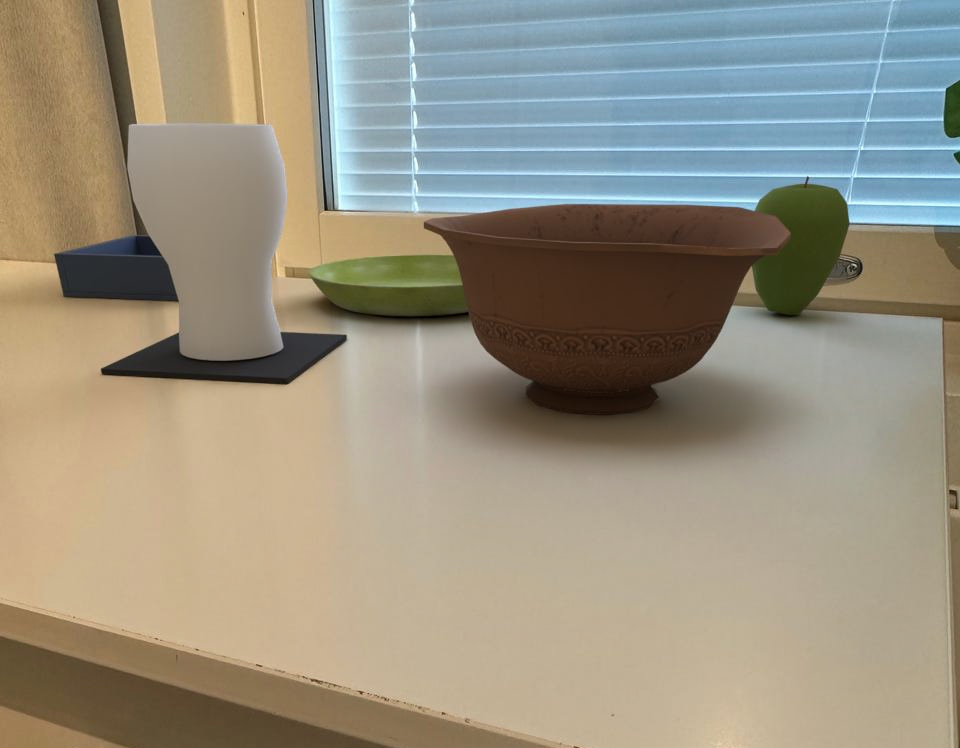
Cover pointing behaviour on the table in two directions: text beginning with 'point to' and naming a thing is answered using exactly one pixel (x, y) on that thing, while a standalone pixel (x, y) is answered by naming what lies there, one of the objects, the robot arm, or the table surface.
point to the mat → (229, 361)
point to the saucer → (394, 285)
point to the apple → (801, 245)
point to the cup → (214, 229)
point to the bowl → (604, 292)
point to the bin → (116, 270)
